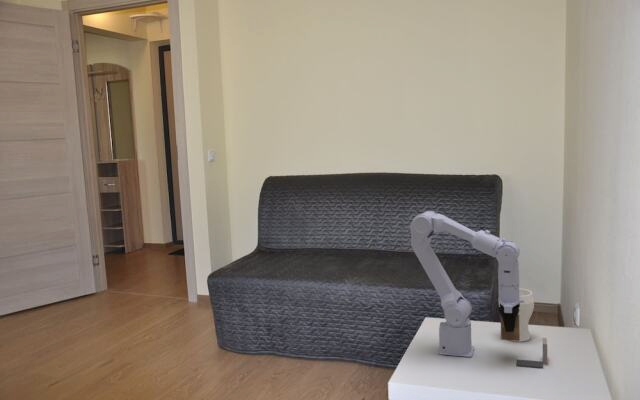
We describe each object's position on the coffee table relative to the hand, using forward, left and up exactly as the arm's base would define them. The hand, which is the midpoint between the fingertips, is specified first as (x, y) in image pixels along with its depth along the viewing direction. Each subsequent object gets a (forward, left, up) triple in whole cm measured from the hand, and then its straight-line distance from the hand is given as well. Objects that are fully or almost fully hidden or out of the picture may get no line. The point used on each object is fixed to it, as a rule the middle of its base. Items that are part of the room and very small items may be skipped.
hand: (509, 329), depth 159 cm
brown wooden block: (0, 0, -3) cm, 3 cm away
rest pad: (+5, -3, -8) cm, 11 cm away
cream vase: (+1, +18, -9) cm, 20 cm away
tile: (+9, 0, -9) cm, 13 cm away
